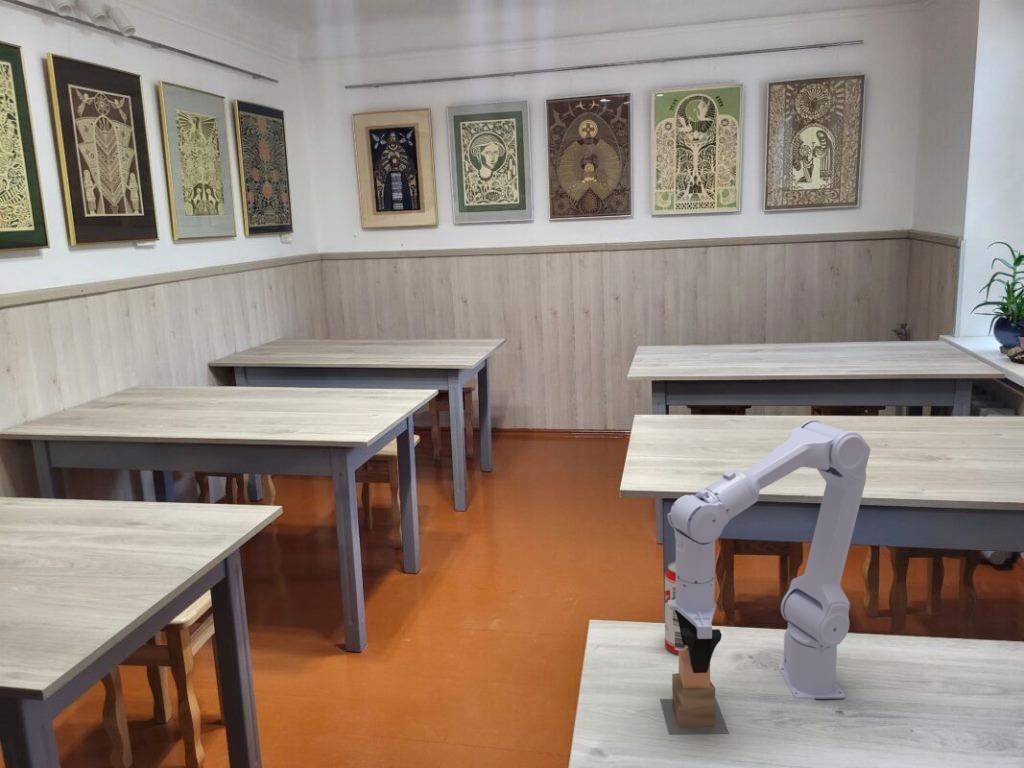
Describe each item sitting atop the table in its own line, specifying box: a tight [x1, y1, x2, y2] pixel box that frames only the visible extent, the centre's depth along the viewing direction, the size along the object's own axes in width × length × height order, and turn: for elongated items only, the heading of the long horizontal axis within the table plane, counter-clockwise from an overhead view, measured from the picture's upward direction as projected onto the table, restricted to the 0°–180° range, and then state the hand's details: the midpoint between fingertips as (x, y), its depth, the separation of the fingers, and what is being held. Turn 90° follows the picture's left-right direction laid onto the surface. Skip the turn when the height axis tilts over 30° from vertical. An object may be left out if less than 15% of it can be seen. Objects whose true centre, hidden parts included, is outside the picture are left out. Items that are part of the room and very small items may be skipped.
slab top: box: [671, 672, 716, 710], centre depth 120 cm, size 5×5×3 cm
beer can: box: [664, 560, 688, 656], centre depth 139 cm, size 6×6×16 cm
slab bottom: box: [671, 690, 715, 727], centre depth 121 cm, size 6×6×3 cm
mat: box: [659, 697, 730, 736], centre depth 121 cm, size 9×9×1 cm
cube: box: [678, 650, 711, 688], centre depth 120 cm, size 4×4×4 cm
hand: (694, 657), depth 119 cm, fingers open, 7 cm apart
